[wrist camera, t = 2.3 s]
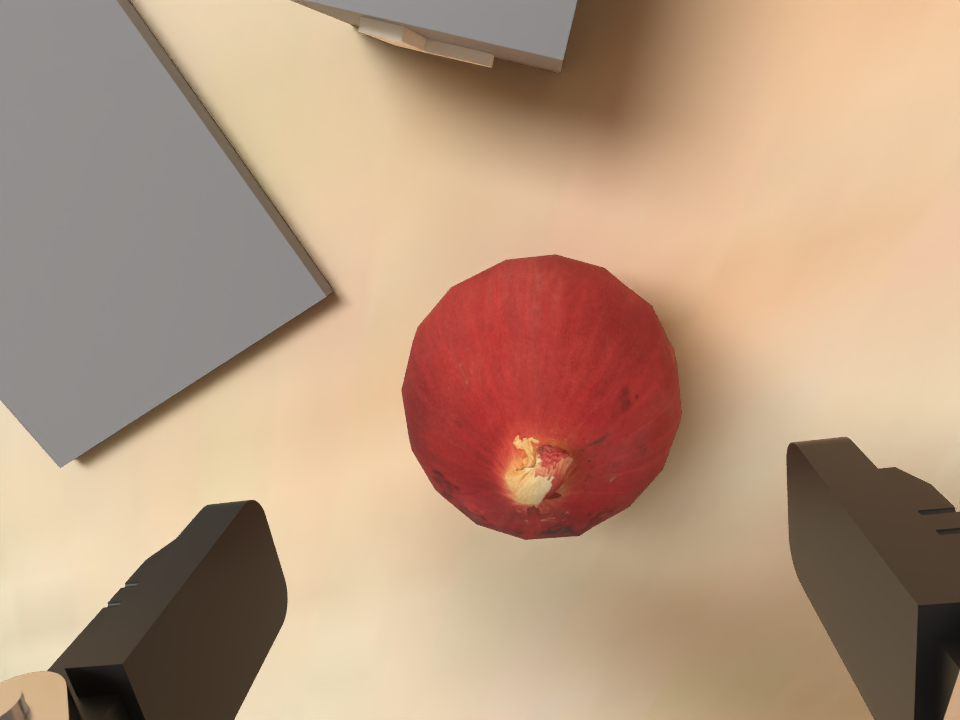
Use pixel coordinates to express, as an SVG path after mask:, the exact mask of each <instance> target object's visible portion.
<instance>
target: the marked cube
mask: <svg viewBox="0 0 960 720" xmlns="http://www.w3.org/2000/svg"><path fill="white" fill-rule="evenodd" d="M291 1H294V2H296V3H299V4H301V5H304V6H306V7H309V8H311V9H314V10H316V11H319V12H321V13H324V14H326V15H329V16H331V17H334V18H336V19H339V20H341V21H344V22H346V23H349V24H352V25H356V26H359V29H358V32H361V33H364V34H366V35H369V36H372V37H374V38H377V39H380V40H382V41H385V42H387V43H390V44H393V45H395V46H399V47H404V48H408V49H412V50H417V51H421V52H425V53H429V54H434V55H438V56H442V57H447V58H451V59H455V60H460V61H464V62H468V63H472V64H477V65H481V66H485V67H490V68H492V66H493V61H494V58H498V59H502V60H506V61H511V62H515V63H519V64H523V65H528V66H532V67H536V68H541V69H545V70H549V71H554V72H558V73H561V69H562V64H563V60H564V56H565V52H566V48H567V44H568V39H569V35H570V31H571V27H572V23H573V19H574V14H575V10H576V6H577V2H578V0H291Z"/></svg>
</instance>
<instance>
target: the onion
mask: <svg viewBox="0 0 960 720" xmlns="http://www.w3.org/2000/svg"><path fill="white" fill-rule="evenodd" d="M402 396H403V403H404V409H405V415H406V422H407V428H408V434H409V440H410V444H411V449H412V451H413V453H414V454H415V456H416V458H417V460H418V461H419V463H420V465H421V466H422V468H423V470H424V471H425V473H426V475H427V476H428V478H429V480H430V482H431V483H432V485H433V487H434V488H435V490H436V491H437V492H438V493H440V494H441V495H442V496H443V497H444V498H445V499H447V500H448V501H449V502H450V503H451V504H453V505H454V506H455V507H456V508H457V509H459V510H460V511H461V512H462V513H464V514H465V515H466V516H467V517H468V518H470V519H471V520H472V521H473V522H474V523H476V524H477V525H480V526H483V527H487V528H490V529H493V530H496V531H499V532H503V533H506V534H509V535H512V536H515V537H519V538H522V539H525V540H528V539H542V538H556V537H570V536H580V535H581V534H583V533H584V532H586V531H587V530H589V529H591V528H592V527H594V526H596V525H597V524H599V523H601V522H603V521H605V520H606V519H608V518H610V517H612V516H614V515H615V514H617V513H619V512H621V511H623V510H624V509H626V508H628V507H629V506H630V505H631V504H632V503H633V502H634V501H635V500H636V499H637V497H638V496H639V495H640V494H641V493H642V492H643V491H644V490H645V489H646V487H647V486H648V485H649V484H650V483H651V482H652V481H653V480H654V479H655V477H656V476H657V475H658V474H659V473H660V472H661V471H662V470H663V468H664V465H665V462H666V459H667V457H668V454H669V451H670V448H671V445H672V443H673V440H674V437H675V434H676V432H677V429H678V426H679V422H680V417H681V413H682V412H681V402H680V391H679V381H678V371H677V363H676V358H675V353H674V350H673V348H672V346H671V344H670V342H669V340H668V338H667V336H666V334H665V331H664V329H663V327H662V325H661V323H660V321H659V319H658V317H657V315H656V313H655V311H654V309H653V307H652V306H651V305H650V304H649V303H647V302H646V301H645V300H644V299H642V298H641V297H640V296H638V295H637V294H636V293H635V292H633V291H632V290H631V289H629V288H628V287H627V286H625V285H624V284H623V283H622V282H621V281H619V280H618V279H617V278H616V277H615V276H613V275H612V274H611V273H610V272H609V271H608V270H606V269H605V268H603V267H599V266H596V265H592V264H588V263H585V262H581V261H577V260H574V259H570V258H566V257H563V256H559V255H547V256H538V257H528V258H519V259H510V260H504V261H502V262H501V263H499V264H497V265H495V266H493V267H491V268H489V269H487V270H485V271H483V272H481V273H479V274H477V275H475V276H473V277H471V278H469V279H467V280H465V281H463V282H461V283H459V284H457V285H455V286H453V287H451V288H450V289H449V291H448V292H447V293H446V294H445V295H444V297H443V298H442V299H441V300H440V301H439V303H438V304H437V305H436V306H435V307H434V308H433V310H432V311H431V312H430V313H429V314H428V316H427V317H426V318H425V319H424V320H423V322H422V323H421V324H420V325H419V326H418V328H417V331H416V334H415V337H414V340H413V343H412V348H411V352H410V356H409V361H408V365H407V369H406V373H405V378H404V382H403V386H402Z"/></svg>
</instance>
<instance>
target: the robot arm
mask: <svg viewBox="0 0 960 720" xmlns="http://www.w3.org/2000/svg"><path fill="white" fill-rule="evenodd" d="M787 492H788V523H789V543H790V550H791V555H792V560H793V564H794V567H795V571H796V574H797V576H798V579H799V581H800V583H801V585H802V587H803V589H804V591H805V593H806V594H807V596H808V598H809V600H810V602H811V604H812V605H813V607H814V609H815V611H816V613H817V615H818V616H819V618H820V620H821V622H822V624H823V626H824V627H825V629H826V631H827V633H828V635H829V637H830V638H831V640H832V642H833V644H834V646H835V648H836V650H837V651H838V653H839V655H840V657H841V659H842V661H843V662H844V664H845V666H846V668H847V670H848V672H849V673H850V675H851V677H852V679H853V681H854V683H855V684H856V686H857V688H858V690H859V692H860V694H861V696H862V697H863V699H864V701H865V703H866V705H867V707H868V708H869V710H870V712H871V714H872V716H873V718H874V719H875V720H960V512H956V511H955V507H954V506H953V505H952V504H951V503H950V502H949V501H948V500H947V499H946V498H945V497H944V496H943V495H941V494H940V493H939V492H938V491H937V490H936V489H935V488H934V487H933V486H932V485H931V484H929V483H927V482H925V481H923V480H921V479H919V478H917V477H914V476H912V475H910V474H908V473H906V472H904V471H902V470H900V469H898V468H896V467H892V468H882V469H878V468H877V467H876V466H875V465H874V464H873V463H872V462H871V461H870V460H869V459H868V458H867V457H866V455H865V454H864V453H863V452H862V451H861V450H860V449H859V448H858V447H857V446H856V445H855V444H854V443H853V442H852V441H851V440H850V439H849V438H847V437H839V438H830V439H821V440H812V441H802V442H793V443H790V444H789V446H788V449H787ZM286 611H287V587H286V582H285V578H284V575H283V572H282V568H281V565H280V562H279V558H278V555H277V552H276V548H275V545H274V542H273V539H272V535H271V532H270V529H269V525H268V522H267V519H266V515H265V513H264V510H263V508H262V507H261V505H260V504H259V503H258V502H257V501H255V500H247V501H238V502H229V503H220V504H211V505H207V506H205V507H204V508H203V509H202V510H201V511H200V512H199V513H198V514H197V515H196V516H195V518H194V519H193V520H192V521H191V522H190V523H189V525H188V526H187V527H186V528H185V529H184V530H183V532H182V533H181V534H180V535H179V536H178V537H177V538H176V539H175V540H174V541H172V542H171V543H169V544H168V545H167V546H165V547H164V548H162V549H161V550H160V551H158V552H157V553H155V554H154V555H152V556H151V557H150V558H148V559H147V560H145V562H144V563H143V564H142V565H141V566H140V567H139V568H138V569H137V571H136V572H135V573H134V574H133V575H132V576H131V577H130V578H129V580H128V581H127V582H126V583H125V588H121V589H120V590H119V591H118V592H117V593H116V594H115V595H114V596H113V598H112V599H111V600H110V601H109V602H108V607H106V608H103V609H102V610H101V611H100V612H99V613H98V614H97V615H96V617H95V618H94V619H93V620H92V621H91V622H90V623H89V624H88V626H87V627H86V628H85V629H84V630H83V631H82V632H81V633H80V635H79V636H78V637H77V638H76V639H75V640H74V641H73V642H72V644H71V645H70V646H69V647H68V648H67V649H66V650H65V651H64V653H63V654H62V655H61V656H60V657H59V658H58V659H57V660H56V662H55V663H54V664H53V665H52V666H51V667H50V668H49V669H48V671H40V672H32V673H27V674H23V675H20V676H17V677H13V678H11V679H8V680H6V681H3V682H1V683H0V720H234V719H235V717H236V715H237V713H238V711H239V709H240V707H241V705H242V703H243V701H244V699H245V697H246V695H247V693H248V691H249V689H250V687H251V686H252V684H253V682H254V680H255V678H256V676H257V674H258V672H259V670H260V668H261V666H262V664H263V662H264V660H265V658H266V656H267V654H268V652H269V650H270V648H271V646H272V644H273V642H274V641H275V639H276V637H277V635H278V633H279V631H280V629H281V627H282V625H283V622H284V619H285V616H286Z"/></svg>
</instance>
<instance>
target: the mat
mask: <svg viewBox="0 0 960 720" xmlns="http://www.w3.org/2000/svg"><path fill="white" fill-rule="evenodd" d="M332 292H333V290H332V288H331V287H330V285H329V284H328V282H327V281H326V280H325V278H324V277H323V275H322V274H321V273H320V271H319V270H318V268H317V267H316V265H315V264H314V263H313V261H312V260H311V258H310V257H309V255H308V254H307V253H306V251H305V250H304V248H303V247H302V246H301V244H300V243H299V241H298V240H297V238H296V237H295V236H294V234H293V233H292V231H291V230H290V229H289V227H288V226H287V224H286V223H285V221H284V220H283V219H282V217H281V216H280V214H279V213H278V211H277V210H276V209H275V207H274V206H273V204H272V203H271V202H270V200H269V199H268V197H267V196H266V194H265V193H264V192H263V190H262V189H261V187H260V186H259V184H258V183H257V182H256V180H255V179H254V177H253V176H252V175H251V173H250V172H249V170H248V169H247V167H246V166H245V165H244V163H243V162H242V160H241V159H240V158H239V156H238V155H237V153H236V152H235V150H234V149H233V148H232V146H231V145H230V143H229V142H228V140H227V139H226V138H225V136H224V135H223V133H222V132H221V131H220V129H219V128H218V126H217V125H216V123H215V122H214V121H213V119H212V118H211V116H210V115H209V113H208V112H207V111H206V109H205V108H204V106H203V105H202V104H201V102H200V101H199V99H198V98H197V96H196V95H195V94H194V92H193V91H192V89H191V88H190V87H189V85H188V84H187V82H186V81H185V79H184V78H183V77H182V75H181V74H180V72H179V71H178V69H177V68H176V67H175V65H174V64H173V62H172V61H171V60H170V58H169V57H168V55H167V54H166V52H165V51H164V50H163V48H162V47H161V45H160V44H159V42H158V41H157V40H156V38H155V37H154V35H153V34H152V33H151V31H150V30H149V28H148V27H147V25H146V24H145V23H144V21H143V20H142V18H141V17H140V16H139V14H138V13H137V11H136V10H135V8H134V7H133V6H132V4H131V3H130V1H129V0H0V400H1V401H2V402H3V403H4V405H5V406H6V407H7V408H8V409H9V410H10V411H11V413H12V414H13V415H14V416H15V417H16V418H17V419H18V421H19V422H20V423H21V424H22V425H23V426H24V427H25V429H26V430H27V431H28V432H29V433H30V434H31V435H32V437H33V438H34V439H35V440H36V441H37V442H38V443H39V444H40V446H41V447H42V448H43V449H44V450H45V451H46V452H47V454H48V455H49V456H50V457H51V458H52V459H53V460H54V462H55V463H56V464H57V465H58V466H59V467H60V468H61V467H63V466H64V465H66V464H67V463H69V462H71V461H72V460H74V459H75V458H77V457H78V456H80V455H81V454H83V453H85V452H86V451H88V450H89V449H91V448H92V447H94V446H95V445H97V444H99V443H100V442H102V441H103V440H105V439H106V438H108V437H109V436H111V435H113V434H114V433H116V432H117V431H119V430H120V429H122V428H123V427H125V426H127V425H128V424H130V423H131V422H133V421H134V420H136V419H137V418H139V417H141V416H142V415H144V414H145V413H147V412H148V411H150V410H151V409H153V408H154V407H156V406H158V405H159V404H161V403H162V402H164V401H165V400H167V399H168V398H170V397H172V396H173V395H175V394H176V393H178V392H179V391H181V390H182V389H184V388H186V387H187V386H189V385H190V384H192V383H193V382H195V381H196V380H198V379H200V378H201V377H203V376H204V375H206V374H207V373H209V372H210V371H212V370H214V369H215V368H217V367H218V366H220V365H221V364H223V363H224V362H226V361H228V360H229V359H231V358H232V357H234V356H235V355H237V354H238V353H240V352H242V351H243V350H245V349H246V348H248V347H249V346H251V345H252V344H254V343H255V342H257V341H259V340H260V339H262V338H263V337H265V336H266V335H268V334H269V333H271V332H273V331H274V330H276V329H277V328H279V327H280V326H282V325H283V324H285V323H287V322H288V321H290V320H291V319H293V318H294V317H296V316H297V315H299V314H301V313H302V312H304V311H305V310H307V309H308V308H310V307H311V306H313V305H315V304H316V303H318V302H319V301H321V300H322V299H324V298H325V297H327V296H328V295H329V294H330V293H332Z"/></svg>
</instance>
